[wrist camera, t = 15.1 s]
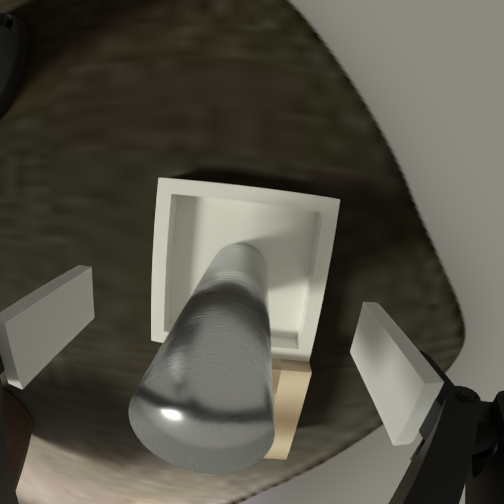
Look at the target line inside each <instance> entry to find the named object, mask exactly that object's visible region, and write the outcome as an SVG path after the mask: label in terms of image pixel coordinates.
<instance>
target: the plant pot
mask: <svg viewBox="0 0 504 504" xmlns="http://www.w3.org/2000/svg"><path fill="white" fill-rule="evenodd" d="M2 402H3V416H4V426H5V435H6V443H7V450H8V456H9V462H10V467H11V473H12V478H13V482H14V487H15V491H16V488H17V485H18V482H19V479H20V475H21V472H22V469H23V466H24V462H25V458H26V455H27V451H28V447H29V442H30V438H31V433H32V428H33V423H32V420H31V417H30V416H29V414H28V412H27V411H26V409H25V408H24V407H23V405H22V404H21V403H20V402H19V401H18V400H17V399H16V398H15V397H14V396H13V395H11V394H10V393H9V392H7V391H6V390H3V389H2Z"/></svg>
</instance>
